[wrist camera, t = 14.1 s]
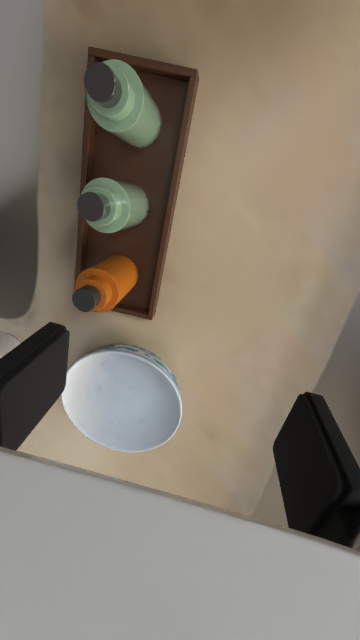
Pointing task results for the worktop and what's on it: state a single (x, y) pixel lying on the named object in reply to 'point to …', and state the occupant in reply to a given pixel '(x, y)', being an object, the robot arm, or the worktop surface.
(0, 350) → the dixie cup
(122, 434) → the chinaware
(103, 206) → the green bottle
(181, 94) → the tray
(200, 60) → the worktop surface
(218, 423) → the worktop surface
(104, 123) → the green bottle
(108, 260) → the amber bottle
